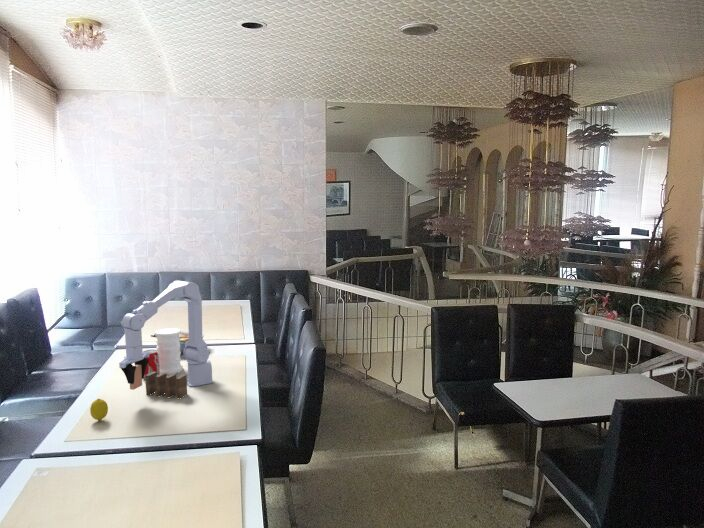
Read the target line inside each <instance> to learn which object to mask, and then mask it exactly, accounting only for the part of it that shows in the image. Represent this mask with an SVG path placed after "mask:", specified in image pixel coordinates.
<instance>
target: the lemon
mask: <svg viewBox="0 0 704 528" xmlns="http://www.w3.org/2000/svg"><path fill="white" fill-rule="evenodd" d="M89 410H90V411H89V412H90V416H91V417H92V418H93V419H94V420H96V421H99V422H100V421H102V420H103V419H105V418H106V417H107V415H108V411H109V407H108V404H107V401H106V400H104V399H101V398H97V399H96V400H94V401H93V402H92V403H91V405H90V409H89Z"/></svg>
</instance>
